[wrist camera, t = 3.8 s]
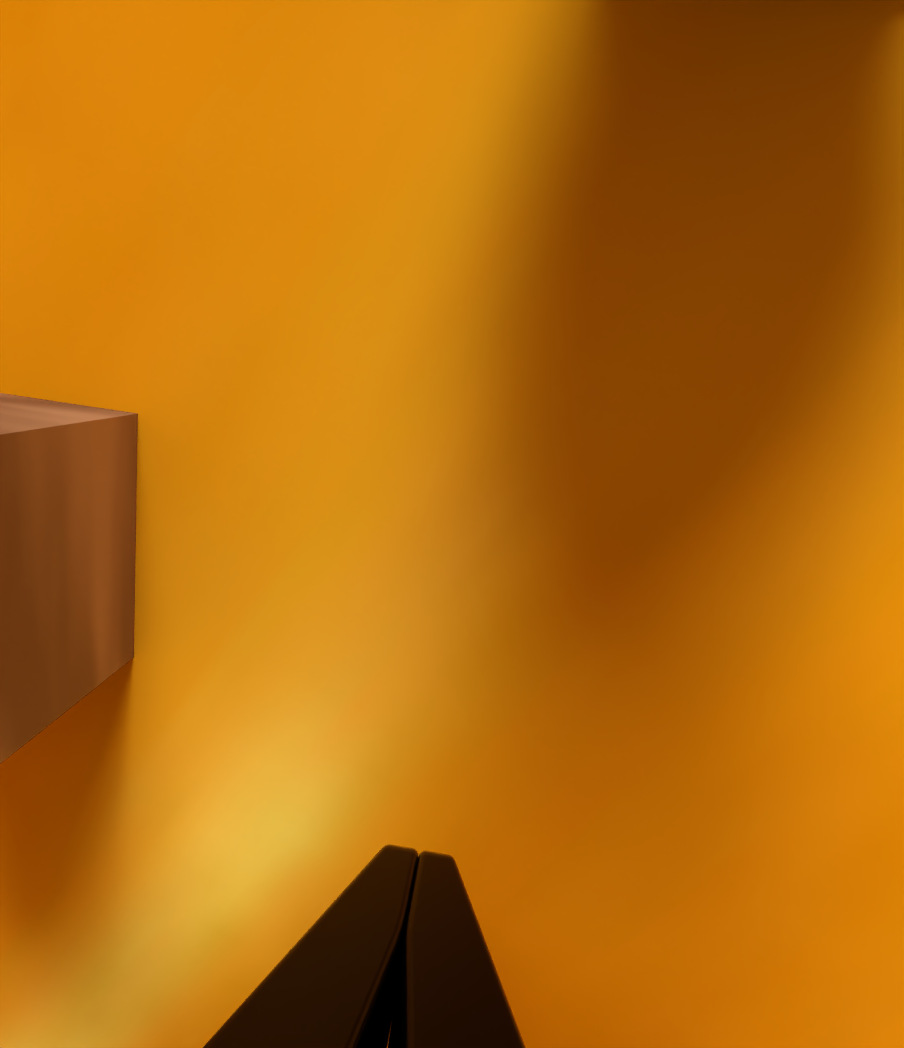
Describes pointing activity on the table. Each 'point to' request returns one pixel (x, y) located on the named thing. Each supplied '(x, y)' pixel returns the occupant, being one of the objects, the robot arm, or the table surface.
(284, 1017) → the robot arm
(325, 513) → the table surface
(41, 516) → the walnut block
